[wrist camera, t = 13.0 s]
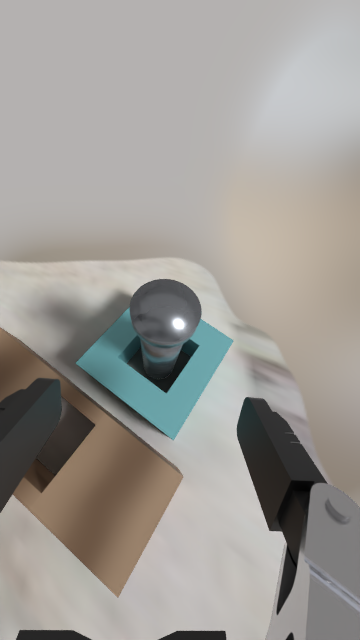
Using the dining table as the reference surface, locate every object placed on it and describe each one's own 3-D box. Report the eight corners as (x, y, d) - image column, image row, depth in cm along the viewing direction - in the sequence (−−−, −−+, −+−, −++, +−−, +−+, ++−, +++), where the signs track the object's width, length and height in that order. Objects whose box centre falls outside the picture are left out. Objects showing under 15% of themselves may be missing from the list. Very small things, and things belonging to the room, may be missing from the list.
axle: (131, 368, 22) (113, 313, 11) (155, 339, 24) (158, 268, 13) (162, 391, 21) (174, 357, 11) (184, 359, 23) (214, 303, 12)
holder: (88, 373, 21) (75, 363, 18) (150, 305, 26) (150, 285, 22) (169, 437, 20) (173, 440, 16) (221, 353, 24) (233, 340, 20)
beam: (-51, 398, 19) (-91, 393, 16) (18, 339, 22) (-4, 325, 19) (124, 563, 16) (118, 597, 13) (178, 468, 19) (183, 476, 16)
